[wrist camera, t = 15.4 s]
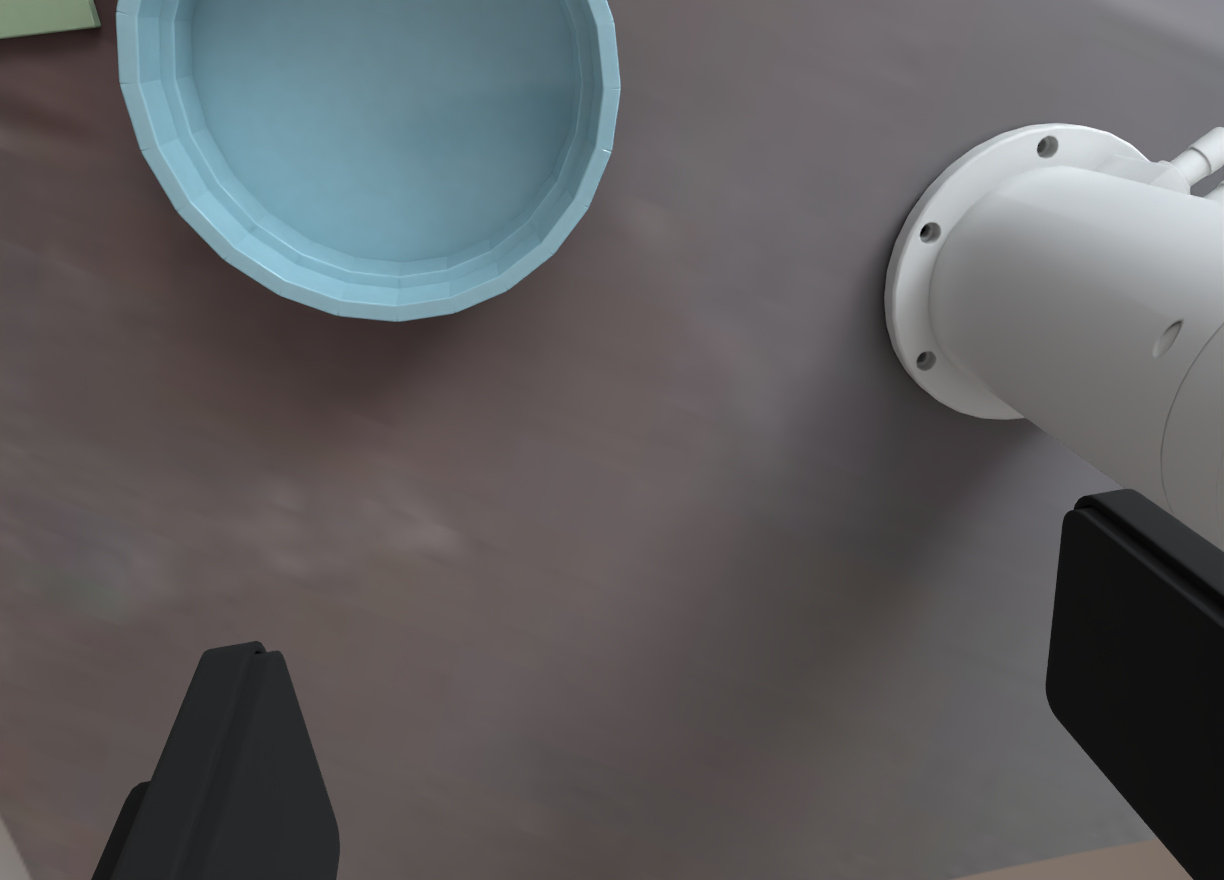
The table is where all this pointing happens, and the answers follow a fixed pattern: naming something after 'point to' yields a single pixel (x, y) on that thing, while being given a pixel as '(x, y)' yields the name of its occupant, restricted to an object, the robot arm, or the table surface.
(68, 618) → the table surface
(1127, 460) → the robot arm
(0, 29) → the mat
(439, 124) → the bowl
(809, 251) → the table surface
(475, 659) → the table surface
